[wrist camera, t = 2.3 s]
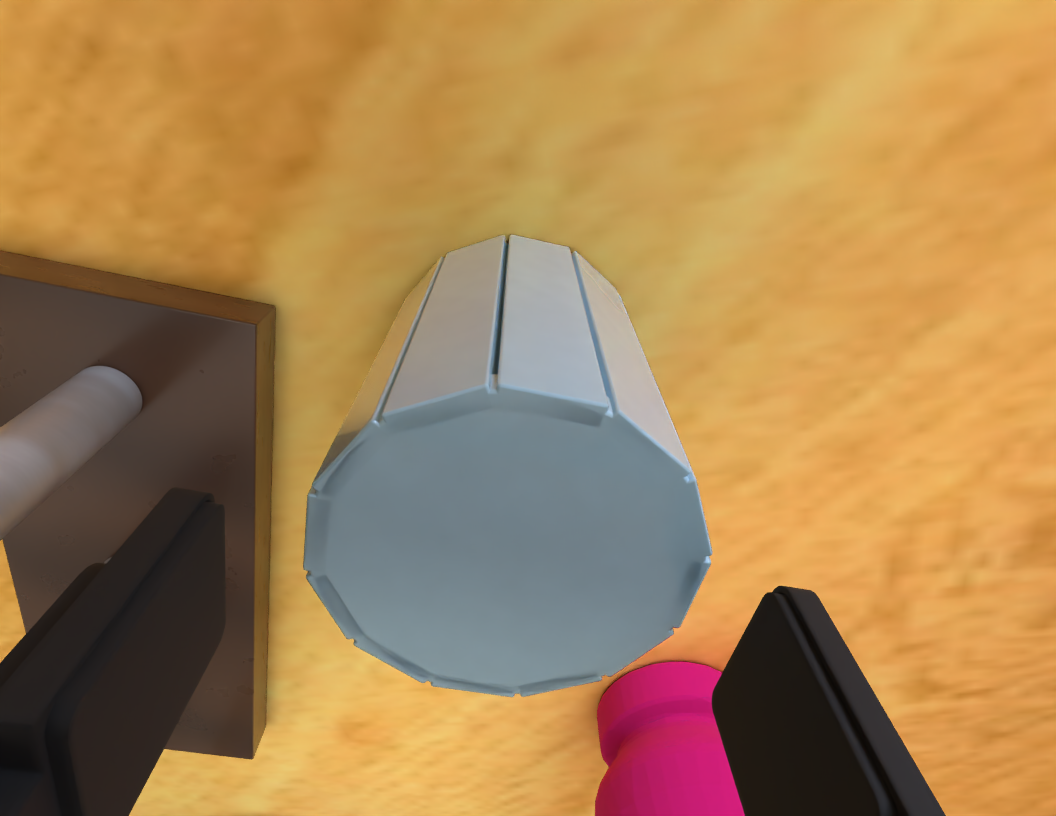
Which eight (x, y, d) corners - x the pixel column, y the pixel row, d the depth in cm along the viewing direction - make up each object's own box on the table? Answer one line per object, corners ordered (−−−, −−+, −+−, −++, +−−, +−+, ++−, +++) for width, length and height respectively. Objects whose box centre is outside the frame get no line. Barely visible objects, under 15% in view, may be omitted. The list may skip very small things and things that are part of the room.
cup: (414, 212, 16) (315, 348, 9) (660, 266, 17) (774, 437, 9) (387, 428, 20) (296, 669, 12) (594, 466, 21) (637, 716, 13)
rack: (-23, 245, 17) (-501, 404, 9) (276, 305, 18) (79, 497, 10) (74, 702, 26) (-117, 974, 18) (266, 726, 27) (161, 995, 19)
